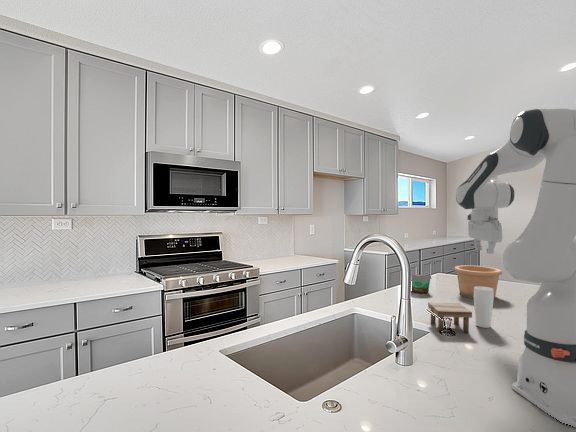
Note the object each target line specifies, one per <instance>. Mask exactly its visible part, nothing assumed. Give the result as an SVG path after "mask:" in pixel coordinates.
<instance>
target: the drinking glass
mask: <svg viewBox="0 0 576 432" xmlns="http://www.w3.org/2000/svg"><path fill="white" fill-rule="evenodd" d="M494 300H495V298H494V293H493V289H492V288H489V287H481V286H477V287H474V298H473V304H474V306H473V307H474V317H475V323H474V324H475V325H476V327H479V328H482V329H488V328H491V327H492V317H493V316H492V314H493V308H494V307H493V306H494Z"/></svg>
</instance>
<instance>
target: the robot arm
mask: <svg viewBox="0 0 576 432" xmlns="http://www.w3.org/2000/svg"><path fill="white" fill-rule="evenodd" d="M544 160H545V165H544V169H543V174H542V177H541V182H540V187H539V193H538V196H537V202H536V205H535V210H534V212H533V215H532V216H531V218H530V221H529V222H528V224H527V225H526V227H525V228H524V230H523V232H522V233H521V234H520V235H519V236H518V237H517V238H516V239H515V240H514V241H512V242H511V243H509V244H508V245H507V246H506V247H505V248H504V251H503V255H502V263H503V266H504V268H505V271H506V272H507V273H508V275H510V276H511V277H512V278H513V279H515V280H520V281H523V282H528V283H535V284H540V285H539V288H538V290H537V291H536V292H535V294H533V295H532V296H531V297H530V298H529V299H528V301H527V304H526V329H525V330H524V335H523V345H524V346H525V348H524V350H523V352H522V353H521V355H520V356H519V359H518V367H517V377H516V381H515V382H513V383H512V385H511V389H512V390H514V391H515V392H516V393H518V394H519V395H520V396H522V397H523V398H525V399H526V400H528V401H529V402H531V403H532V404H534V406H536V405H537V406H536V407H538V408H539V409H540V410H542V411H543V412H545V413H546V414H547V413H548V414H547V415H549V416H550V415H551V416H550V417H551V418H553V417H554V418H553V419H555V418H556V419H557V420H559V421H560V422H562V423H561V424H563V423H565V424H564V425H566V424H568V425H567V426H569V425H571V426H570V427H572V426H573V428H576V109H570V108H534V109H528V110H524V111H521V112H520V113H518V115H517V116H516V117H515V118H514V119H513V121H512V124H511V127H510V130H509V138H508V140H507V141H506V142H505V143H504V144H503V145H501V146H500V147H499V148H498V149H496V150H495V151H493V152H491V153H489V154H488V155H486V156H485V157H484V159H482V160H481V162H480V163H479V164H478V166H477V167H476V168H475V169H474V171H473V172H471V174H470V175H469V177H468V178H467V179H466V180H465V181H464V182H462V183H461V184H460V185H459V186H458V188H457V189H456V193H455V194H456V195H455V199H456V202H457V204H458V206H460V207H461V208H463V209H464V210H471V212H470V213H469V214H468V215H467V216H466V217H467V221H468V224H467V230H468V231H467V232H468V236H469V238H470V239H473V242H474V245H475V250H476V251H482V249H483V246H482V243H481V242H482V241H483V242H487V245H488V246H487V248H486V253H487V254H488V255H489V254H492V255H493V254H494V249H495V247H496V243H502V241H503V227H502V223H501V221H500V220H499V209H503V208H508V207H509V206H510V205H512V204H513V202H514V200H515V188H514V187H513V186H512V184H510V183H509V182H506V181H502V180H500V179H498V176H501V175H504V174H510V173H511V174H512V173H516V172H518V173H519V172H523V171H528V170H531V169H533V168H535V167H536V166H538V165H539V164H541V163H542V162H543V161H544ZM556 419H555V420H556ZM557 420H556V421H557ZM559 421H558V422H559ZM560 422H559V423H560Z"/></svg>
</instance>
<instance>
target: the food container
mask: <svg viewBox="0 0 576 432" xmlns="http://www.w3.org/2000/svg"><path fill="white" fill-rule="evenodd" d="M411 275H412V292H411V293H414V294H416V295H417V294H418V295H427V294H429V289H430V282H431V279H432V275H431V274H429V275H422V274H417V275H416V274H411Z"/></svg>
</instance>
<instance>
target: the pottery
mask: <svg viewBox="0 0 576 432" xmlns="http://www.w3.org/2000/svg"><path fill="white" fill-rule="evenodd" d="M454 272H456V275H457V282H458V283H457V284H458V290H459V295H460V296H462V297H466V298H470V299H474V287H477V286H481V287H489V288H492V289H493V293H494V299H495V298H496V295H497V290H498V283H499V277H500V276H502V275H503V271H502V270H501V269H499V268H495V267H492V266H491V267H490V266H483V265H471V264H470V265H466V264H465V265H464V264H463V265H462V264H461V265H456V266H454Z"/></svg>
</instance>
